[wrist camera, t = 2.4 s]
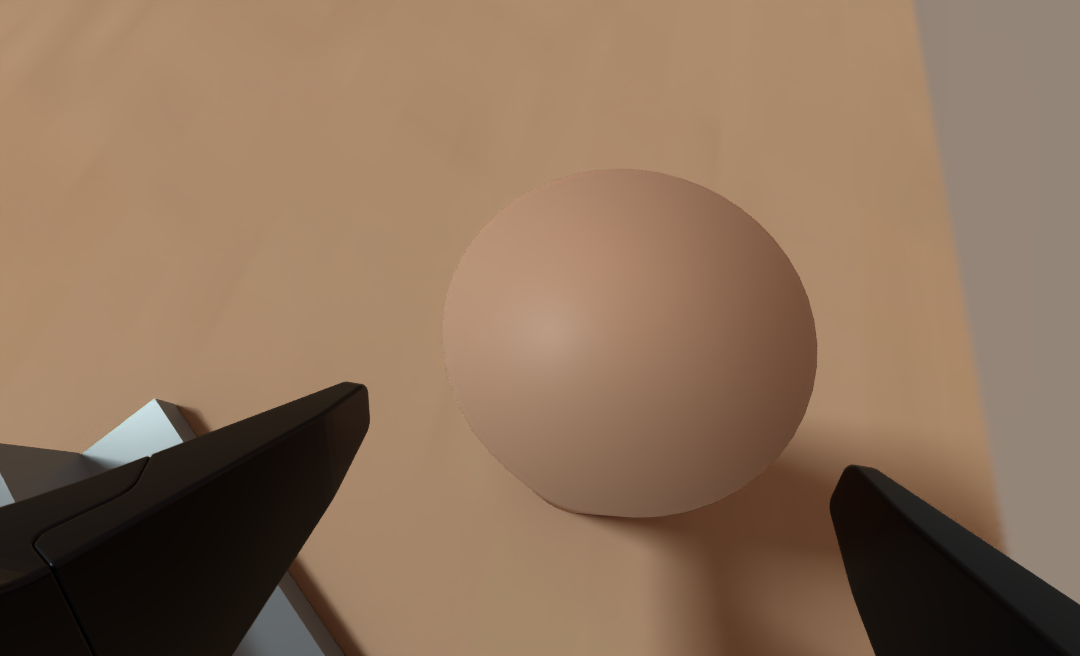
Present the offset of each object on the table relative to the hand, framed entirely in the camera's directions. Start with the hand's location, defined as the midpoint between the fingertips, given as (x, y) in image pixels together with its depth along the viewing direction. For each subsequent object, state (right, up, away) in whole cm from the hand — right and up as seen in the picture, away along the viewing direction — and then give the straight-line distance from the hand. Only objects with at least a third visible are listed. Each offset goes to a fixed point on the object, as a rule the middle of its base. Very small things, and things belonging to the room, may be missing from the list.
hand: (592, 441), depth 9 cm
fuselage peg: (0, -2, +8) cm, 9 cm away
